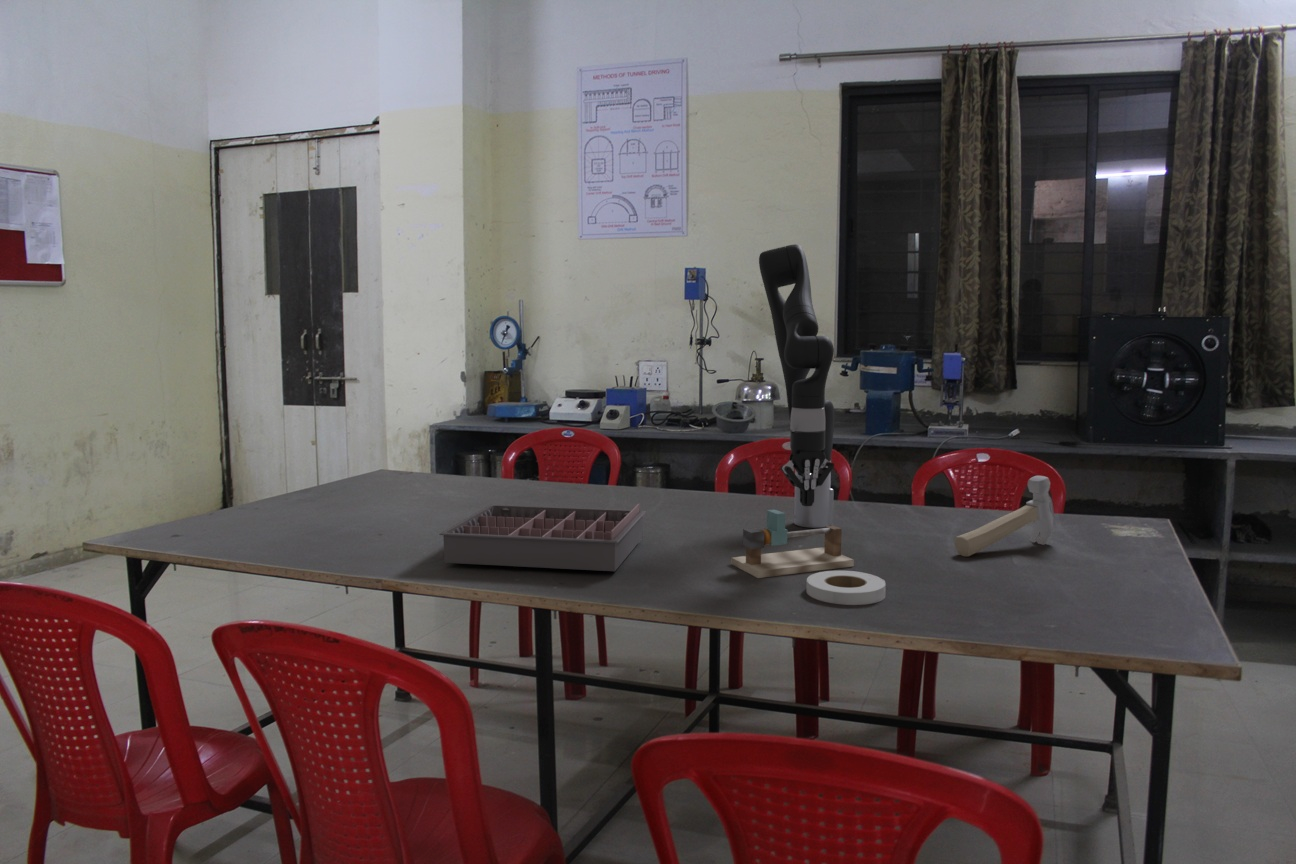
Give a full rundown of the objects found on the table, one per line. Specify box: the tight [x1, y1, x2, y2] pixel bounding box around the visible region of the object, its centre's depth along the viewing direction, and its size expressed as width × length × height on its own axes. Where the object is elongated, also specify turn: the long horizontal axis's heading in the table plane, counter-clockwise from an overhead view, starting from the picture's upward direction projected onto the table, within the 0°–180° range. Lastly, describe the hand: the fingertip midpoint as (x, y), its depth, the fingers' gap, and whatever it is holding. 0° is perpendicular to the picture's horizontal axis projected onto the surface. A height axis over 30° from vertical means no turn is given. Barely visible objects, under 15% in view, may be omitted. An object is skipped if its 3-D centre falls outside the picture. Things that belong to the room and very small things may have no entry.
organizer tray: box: [439, 503, 647, 572], centre depth 216 cm, size 32×40×10 cm
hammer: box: [954, 475, 1055, 558], centre depth 221 cm, size 16×5×30 cm
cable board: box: [730, 524, 855, 579], centre depth 206 cm, size 24×12×9 cm, turn 113°
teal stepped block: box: [763, 509, 789, 547], centre depth 204 cm, size 4×4×7 cm
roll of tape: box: [805, 570, 887, 606], centre depth 186 cm, size 16×15×3 cm
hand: (806, 505), depth 206 cm, fingers closed
